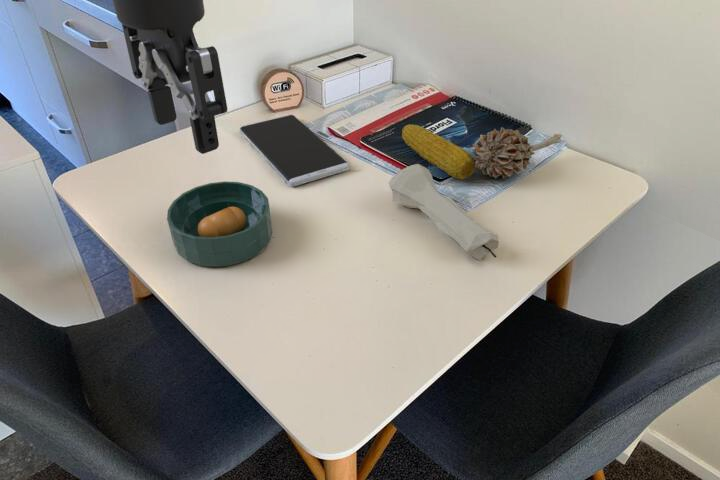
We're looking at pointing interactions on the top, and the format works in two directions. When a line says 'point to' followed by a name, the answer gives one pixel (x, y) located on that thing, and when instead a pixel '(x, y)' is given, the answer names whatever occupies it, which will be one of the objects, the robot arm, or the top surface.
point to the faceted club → (441, 210)
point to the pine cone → (506, 152)
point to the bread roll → (222, 223)
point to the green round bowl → (209, 201)
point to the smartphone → (293, 150)
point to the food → (439, 151)
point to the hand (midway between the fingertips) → (186, 135)
